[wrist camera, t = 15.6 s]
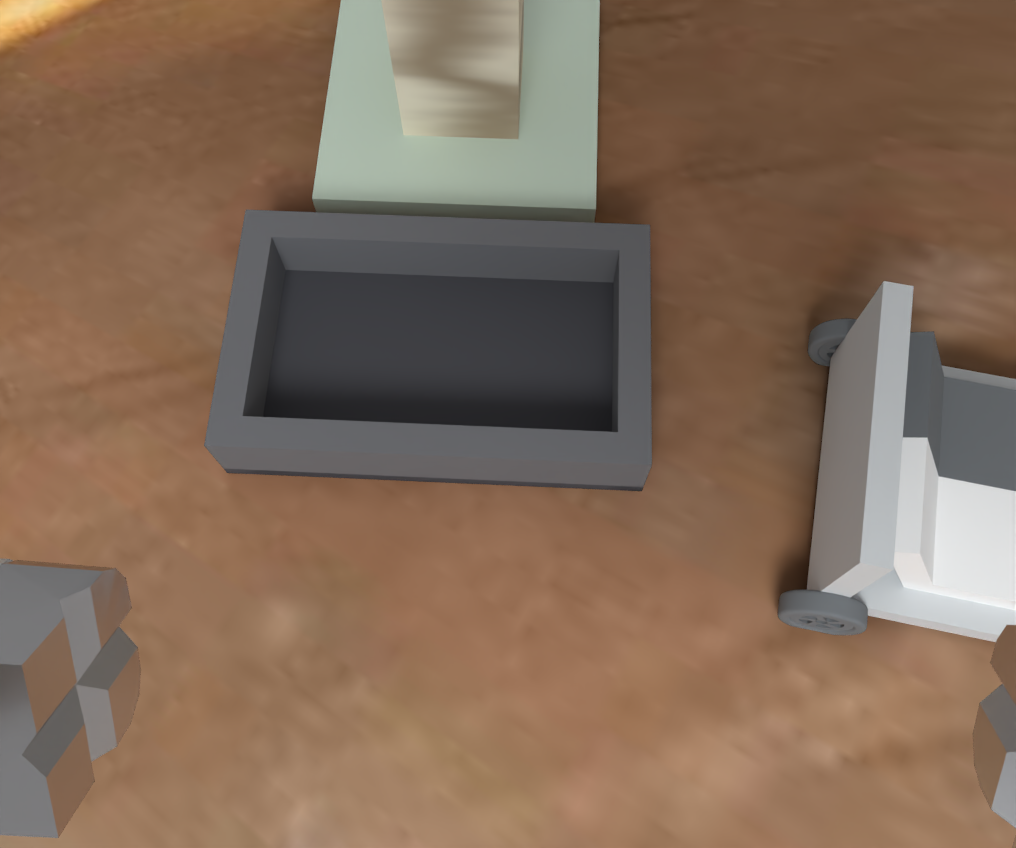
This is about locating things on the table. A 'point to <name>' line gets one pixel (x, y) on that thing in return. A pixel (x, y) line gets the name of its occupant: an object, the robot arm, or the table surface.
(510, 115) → the birch block
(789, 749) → the table surface
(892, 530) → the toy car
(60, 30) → the table surface
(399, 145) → the pad
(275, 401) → the tray
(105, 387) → the table surface
